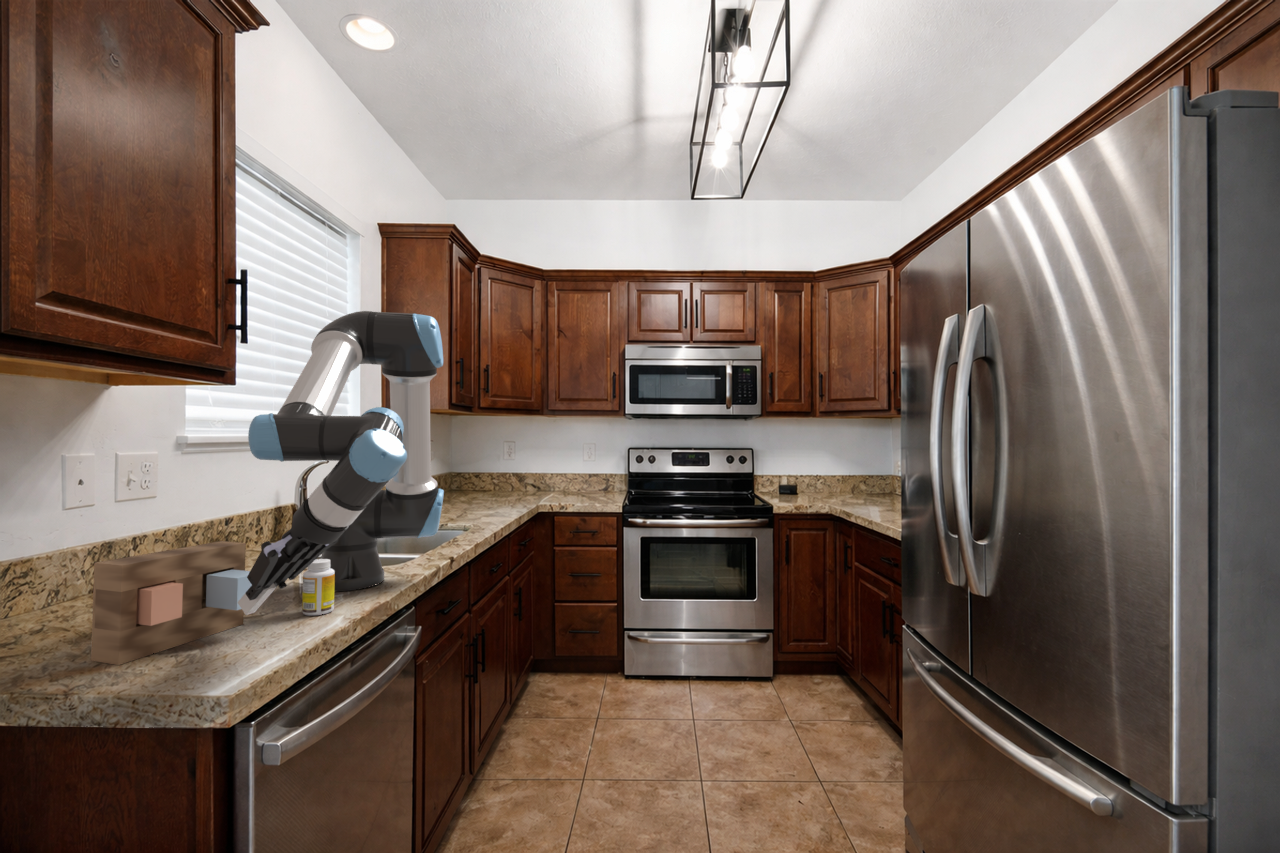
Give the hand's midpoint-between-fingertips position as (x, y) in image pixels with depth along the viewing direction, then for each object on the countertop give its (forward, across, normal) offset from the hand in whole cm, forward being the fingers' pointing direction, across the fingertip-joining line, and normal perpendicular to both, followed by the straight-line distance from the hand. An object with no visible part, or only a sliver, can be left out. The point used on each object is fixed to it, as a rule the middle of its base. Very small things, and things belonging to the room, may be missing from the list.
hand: (246, 607), depth 93 cm
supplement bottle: (+8, -19, +2) cm, 21 cm away
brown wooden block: (+15, +1, -5) cm, 16 cm away
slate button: (+6, -4, -4) cm, 9 cm away
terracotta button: (+10, +6, -8) cm, 14 cm away
